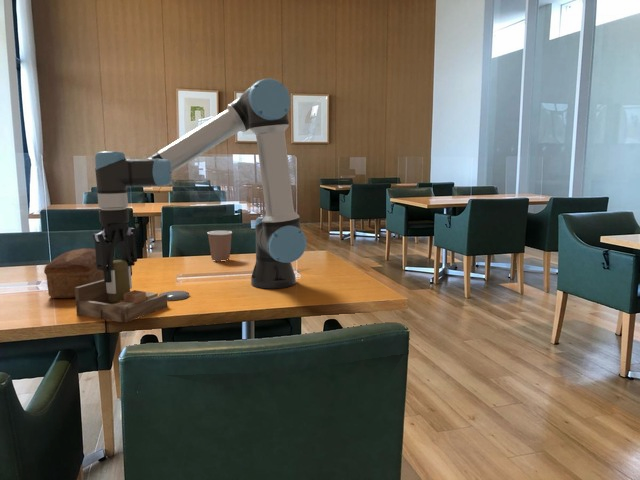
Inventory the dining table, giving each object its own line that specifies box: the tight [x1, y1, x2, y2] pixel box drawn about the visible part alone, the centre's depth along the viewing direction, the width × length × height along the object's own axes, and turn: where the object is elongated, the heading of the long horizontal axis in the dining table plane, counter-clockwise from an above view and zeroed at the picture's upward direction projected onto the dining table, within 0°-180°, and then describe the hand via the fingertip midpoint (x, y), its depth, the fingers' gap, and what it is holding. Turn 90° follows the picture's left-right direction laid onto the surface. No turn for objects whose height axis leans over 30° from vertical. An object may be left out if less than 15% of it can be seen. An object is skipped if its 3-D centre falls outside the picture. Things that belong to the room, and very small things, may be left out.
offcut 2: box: [123, 289, 147, 304], centre depth 132 cm, size 4×4×6 cm
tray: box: [75, 280, 168, 324], centre depth 134 cm, size 17×16×8 cm
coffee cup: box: [206, 230, 233, 261], centre depth 203 cm, size 10×10×12 cm
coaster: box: [158, 290, 190, 302], centre depth 148 cm, size 9×9×1 cm
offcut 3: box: [145, 291, 159, 300], centre depth 137 cm, size 4×4×4 cm
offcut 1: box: [114, 301, 134, 306], centre depth 129 cm, size 4×4×4 cm
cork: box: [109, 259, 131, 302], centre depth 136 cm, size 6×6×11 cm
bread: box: [43, 247, 104, 299], centre depth 156 cm, size 14×28×12 cm, turn 12°
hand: (119, 290), depth 137 cm, fingers closed on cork, 5 cm apart
